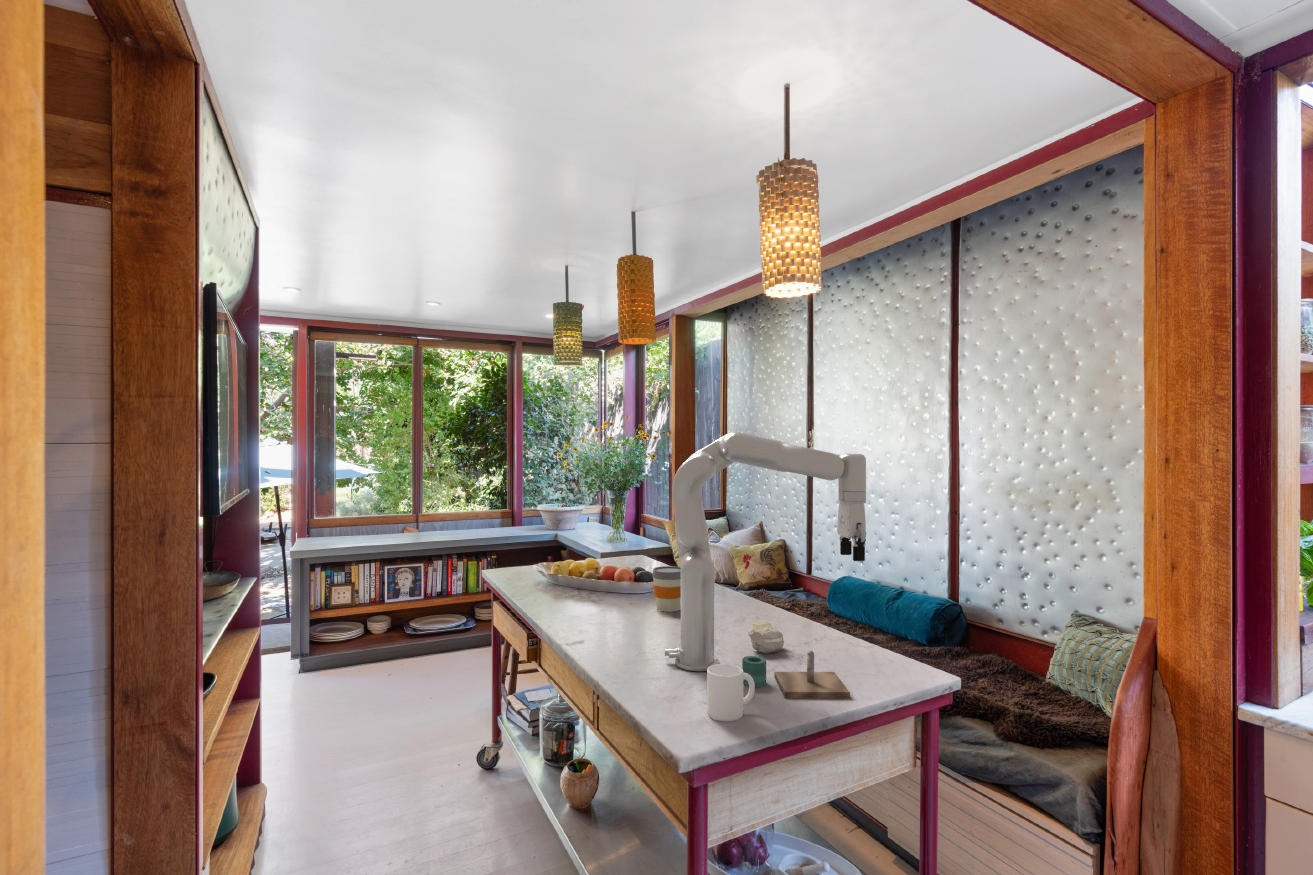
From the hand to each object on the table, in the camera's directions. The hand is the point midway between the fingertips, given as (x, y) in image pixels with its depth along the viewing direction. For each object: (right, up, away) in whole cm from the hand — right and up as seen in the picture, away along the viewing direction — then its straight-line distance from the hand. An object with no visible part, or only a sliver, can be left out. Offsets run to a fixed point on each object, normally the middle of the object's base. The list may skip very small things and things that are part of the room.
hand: (852, 557), depth 180 cm
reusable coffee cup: (-51, -31, +61) cm, 86 cm away
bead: (-30, -30, -14) cm, 45 cm away
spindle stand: (-16, -30, -17) cm, 38 cm away
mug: (-38, -30, -33) cm, 58 cm away
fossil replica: (-22, -31, +12) cm, 40 cm away
